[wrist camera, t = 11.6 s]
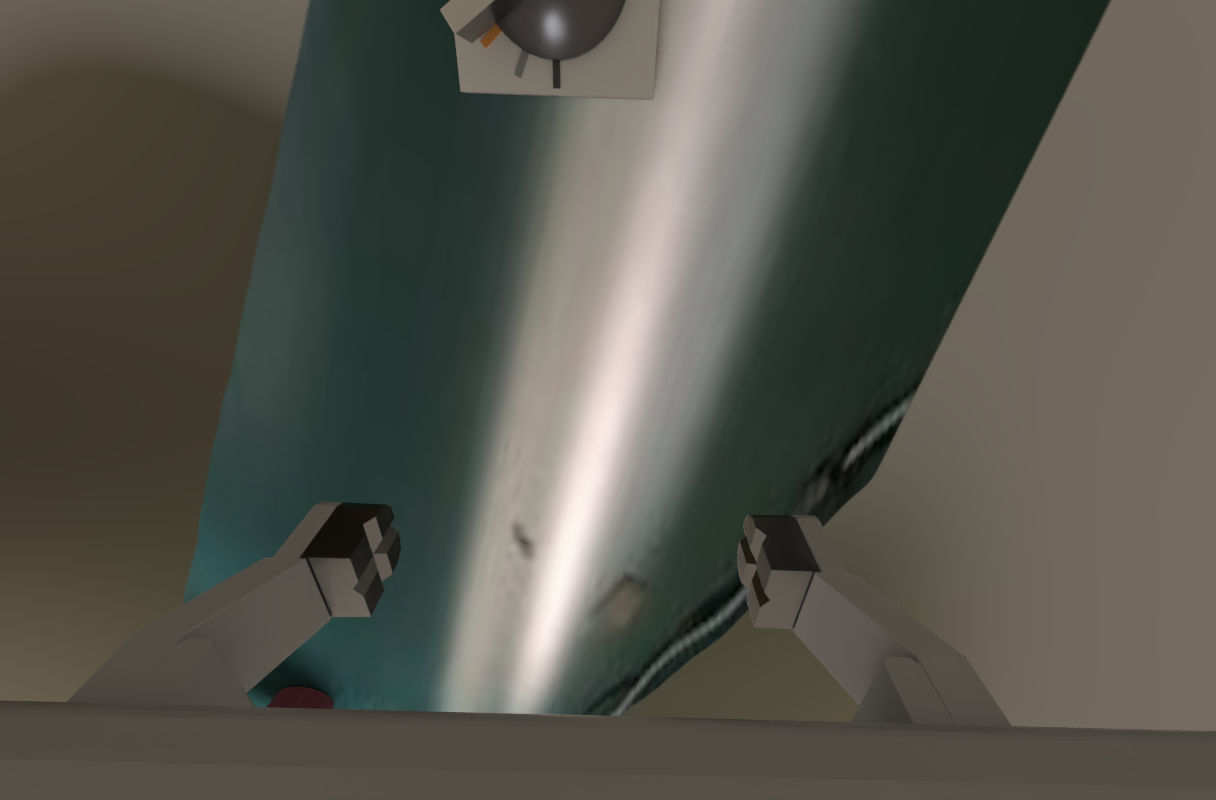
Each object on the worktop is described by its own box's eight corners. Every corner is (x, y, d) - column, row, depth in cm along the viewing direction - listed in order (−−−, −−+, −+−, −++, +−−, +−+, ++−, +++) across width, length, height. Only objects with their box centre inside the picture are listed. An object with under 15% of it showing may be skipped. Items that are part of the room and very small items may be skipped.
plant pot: (364, 698, 78) (323, 792, 67) (330, 730, 84) (287, 821, 73) (280, 666, 74) (221, 761, 63) (250, 702, 79) (191, 795, 68)
